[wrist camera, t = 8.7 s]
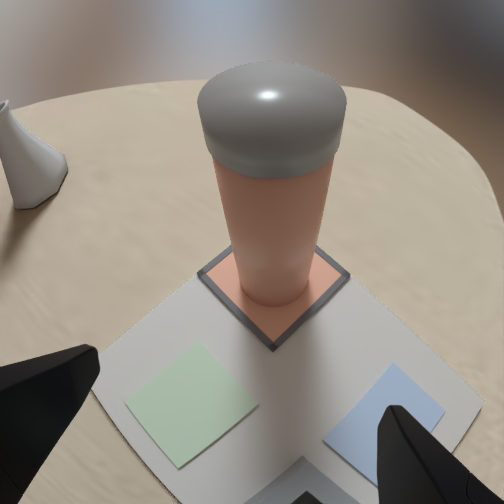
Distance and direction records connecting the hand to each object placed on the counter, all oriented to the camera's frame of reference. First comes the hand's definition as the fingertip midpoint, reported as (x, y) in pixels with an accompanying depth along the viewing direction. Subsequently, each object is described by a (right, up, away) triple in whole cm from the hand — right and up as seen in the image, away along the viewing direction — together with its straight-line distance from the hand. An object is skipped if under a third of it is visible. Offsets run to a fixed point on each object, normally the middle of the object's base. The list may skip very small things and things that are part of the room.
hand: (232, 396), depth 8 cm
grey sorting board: (+3, -5, +8) cm, 10 cm away
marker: (+2, +3, +11) cm, 12 cm away
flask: (-21, +11, +18) cm, 30 cm away
